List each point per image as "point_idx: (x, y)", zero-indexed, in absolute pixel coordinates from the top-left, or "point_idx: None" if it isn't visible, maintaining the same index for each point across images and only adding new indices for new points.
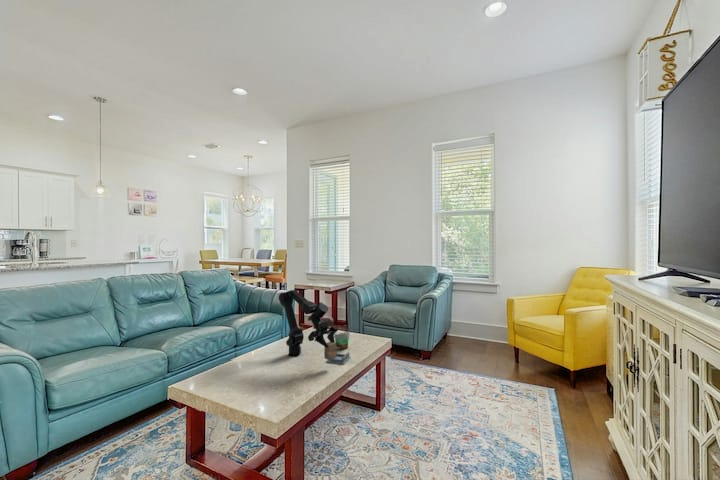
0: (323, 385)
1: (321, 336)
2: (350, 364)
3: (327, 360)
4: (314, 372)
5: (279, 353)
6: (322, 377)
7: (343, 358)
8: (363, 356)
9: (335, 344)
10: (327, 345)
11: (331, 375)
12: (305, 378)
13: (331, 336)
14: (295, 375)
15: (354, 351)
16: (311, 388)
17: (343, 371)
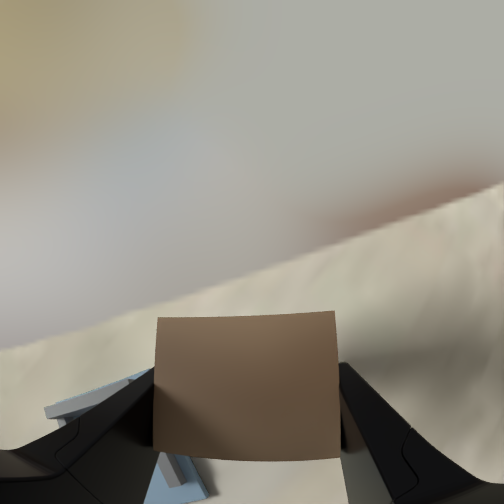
0: (445, 216)
1: (500, 497)
2: (129, 337)
3: (196, 495)
4: (403, 406)
5: None
6: (408, 301)
7: (128, 379)
8: (21, 354)
9: (182, 321)
10: (337, 368)
11: (348, 288)
12: (484, 354)
13: (81, 474)
14: (497, 427)
15: (7, 434)
16: (495, 230)
17: (244, 285)
